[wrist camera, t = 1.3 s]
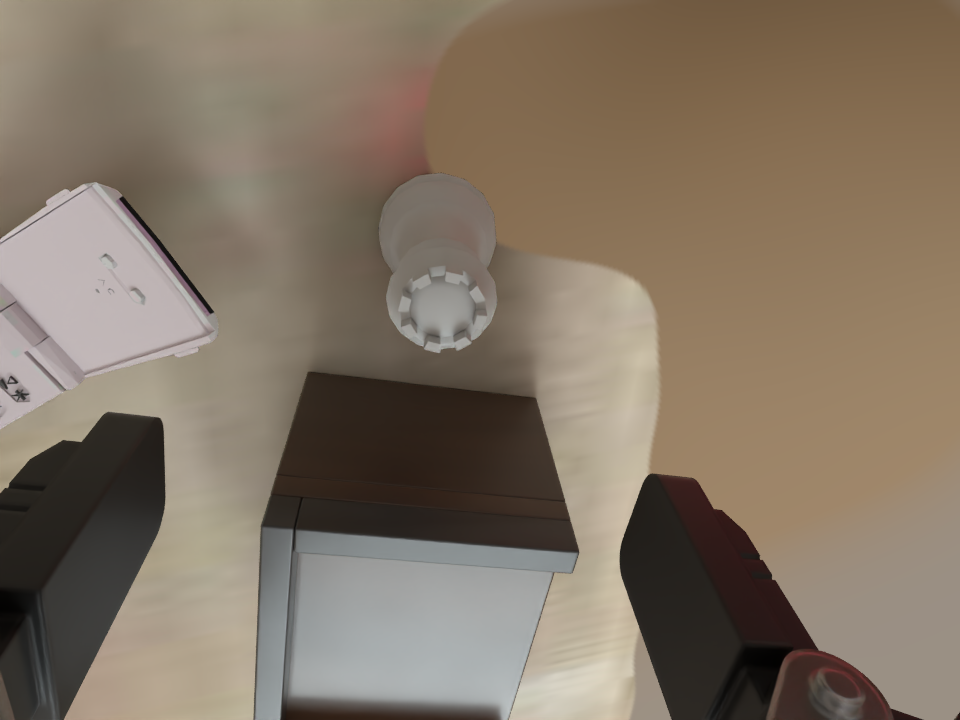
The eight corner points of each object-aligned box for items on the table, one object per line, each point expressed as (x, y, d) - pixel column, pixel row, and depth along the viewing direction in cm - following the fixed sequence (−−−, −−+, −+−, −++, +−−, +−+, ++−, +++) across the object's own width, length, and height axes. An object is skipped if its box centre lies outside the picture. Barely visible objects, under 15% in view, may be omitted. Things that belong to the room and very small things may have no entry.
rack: (307, 371, 29) (260, 526, 20) (536, 397, 30) (580, 552, 22) (292, 591, 35) (250, 781, 26) (484, 604, 36) (502, 788, 28)
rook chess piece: (508, 262, 27) (539, 355, 20) (402, 296, 27) (396, 400, 20) (475, 153, 25) (495, 215, 18) (361, 191, 25) (337, 266, 18)
